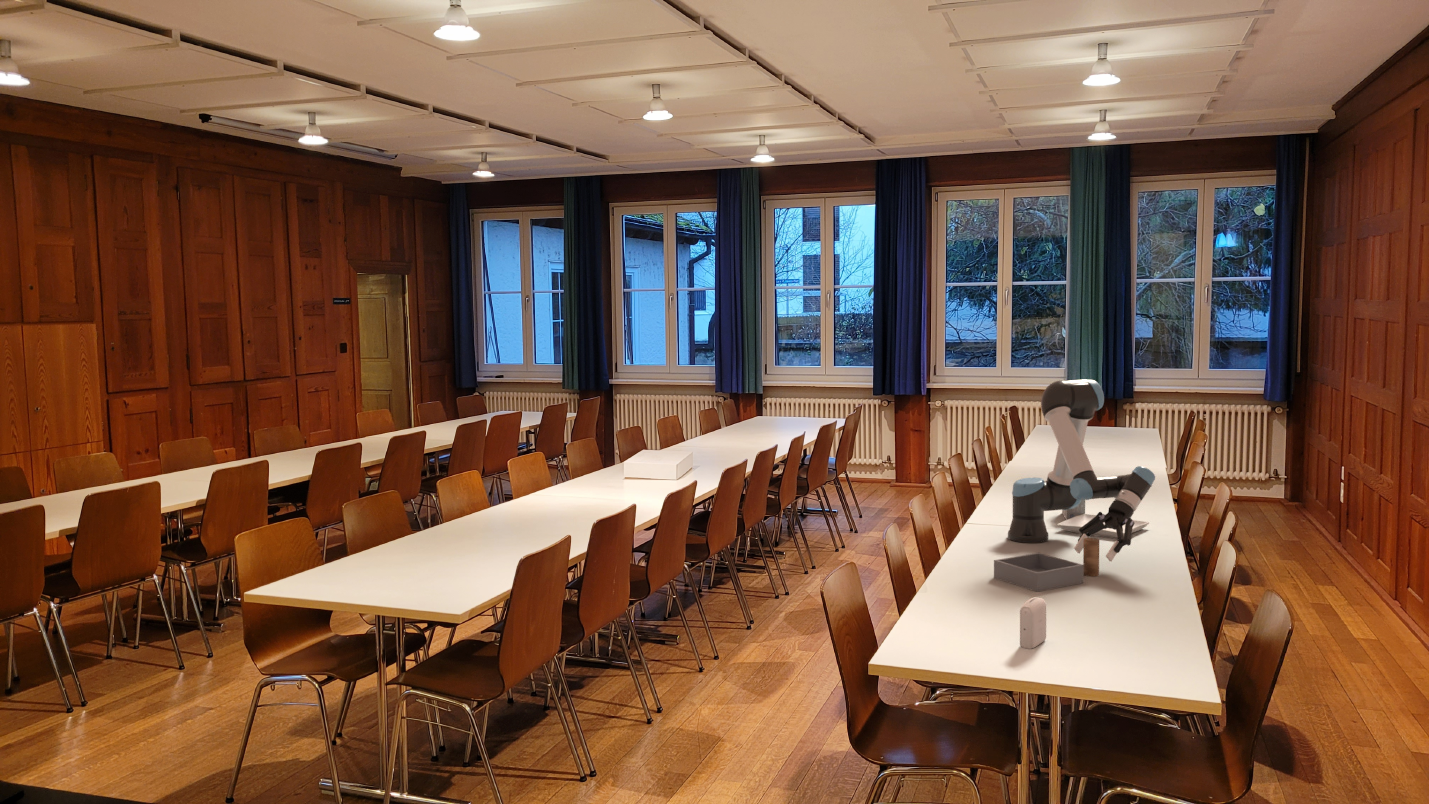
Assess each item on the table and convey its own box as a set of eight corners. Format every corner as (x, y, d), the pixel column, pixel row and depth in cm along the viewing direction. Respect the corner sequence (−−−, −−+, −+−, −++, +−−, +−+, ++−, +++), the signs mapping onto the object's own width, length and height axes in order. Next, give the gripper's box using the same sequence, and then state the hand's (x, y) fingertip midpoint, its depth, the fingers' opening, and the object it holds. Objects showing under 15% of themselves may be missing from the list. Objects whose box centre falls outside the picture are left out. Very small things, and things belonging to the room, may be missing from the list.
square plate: (1124, 542, 390) (1124, 532, 390) (1055, 533, 409) (1055, 523, 409) (1150, 529, 410) (1150, 520, 410) (1083, 521, 429) (1083, 512, 428)
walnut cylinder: (1079, 573, 346) (1080, 539, 345) (1090, 571, 348) (1091, 537, 347) (1091, 577, 342) (1091, 542, 340) (1102, 575, 344) (1102, 540, 343)
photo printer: (1033, 650, 272) (1033, 604, 271) (1017, 647, 275) (1017, 602, 274) (1048, 640, 280) (1048, 595, 279) (1033, 637, 283) (1033, 593, 282)
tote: (993, 577, 344) (993, 560, 343) (1038, 569, 353) (1038, 552, 352) (1037, 591, 326) (1037, 573, 325) (1083, 582, 335) (1083, 564, 334)
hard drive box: (1085, 520, 428) (1086, 473, 426) (1066, 520, 430) (1066, 473, 428) (1080, 513, 443) (1080, 467, 441) (1061, 513, 445) (1061, 467, 443)
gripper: (1089, 493, 359) (1058, 541, 354) (1149, 504, 337) (1116, 555, 332) (1100, 507, 362) (1069, 554, 357) (1160, 518, 340) (1128, 569, 335)
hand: (1092, 554), depth 344 cm, fingers open, 13 cm apart
